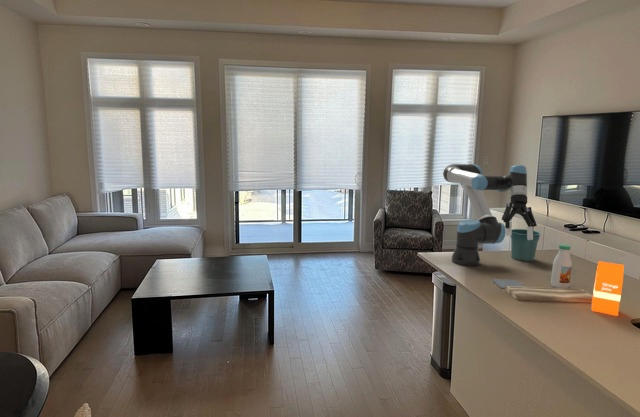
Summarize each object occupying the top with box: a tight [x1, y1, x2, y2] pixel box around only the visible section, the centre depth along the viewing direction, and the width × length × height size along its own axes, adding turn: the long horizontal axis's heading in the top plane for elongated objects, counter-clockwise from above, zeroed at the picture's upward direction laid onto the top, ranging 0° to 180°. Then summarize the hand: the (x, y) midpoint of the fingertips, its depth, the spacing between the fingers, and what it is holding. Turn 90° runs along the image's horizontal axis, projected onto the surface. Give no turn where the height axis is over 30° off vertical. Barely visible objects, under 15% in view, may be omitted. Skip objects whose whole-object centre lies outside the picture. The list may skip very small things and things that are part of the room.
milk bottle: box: [550, 244, 573, 288], centre depth 198 cm, size 8×8×20 cm
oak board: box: [504, 285, 593, 304], centre depth 186 cm, size 12×34×2 cm, turn 89°
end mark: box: [491, 278, 526, 290], centre depth 200 cm, size 12×12×1 cm
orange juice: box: [591, 260, 625, 316], centre depth 170 cm, size 8×9×20 cm
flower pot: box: [510, 228, 542, 262], centre depth 246 cm, size 16×16×16 cm
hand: (519, 237), depth 204 cm, fingers open, 13 cm apart
